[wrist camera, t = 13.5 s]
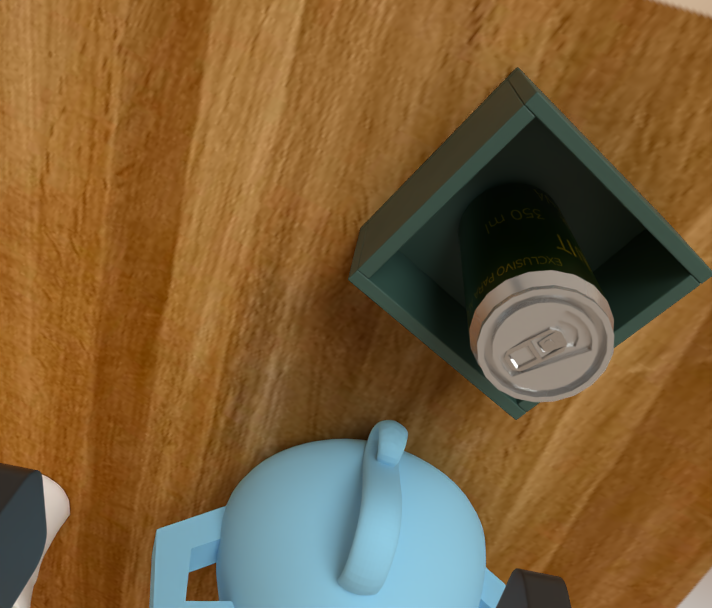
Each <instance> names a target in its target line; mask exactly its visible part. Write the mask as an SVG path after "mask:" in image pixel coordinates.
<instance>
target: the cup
mask: <svg viewBox="0 0 712 608" xmlns="http://www.w3.org/2000/svg"><path fill="white" fill-rule="evenodd" d="M42 478H43V489H44V501H45V513H46V525H47V538H46V543H45V547H44V551H43V554H42V556H41V559H40V561H39V563H38V565H37V567H36V569H35V571H34V573H33V574H32V576H31V578H30V579H29V581H28V582H27V584H26V586H25V587H24V589H23V591H22V592H21V594H20V595H19V597H18V599H17V600H16V602H15V604H14V605H13V607H12V608H30V604H31V596H32V591H33V587H34V584H35V582H36V580H37V577H38V573H39V568H40V565H41V562H42V559H43V557H44V555H45V553H46V551H47V549H48V548H49V546H50V544H51V542H52V541H53V539H54V537H55V535H56V534H57V532H58V531H59V529H60V527H61V526H62V525H63V524H64V522H65V521H66V519H67V518H68V517H69V515H70V506H69V499H68V497H67V495H66V493H65V492H64V490H63V489H62V488H61V487H60V486H59V485H58V484H57V483H56V482H54V481H53V480H51V479H50V478H48V477H47V476H44V475H42Z"/></svg>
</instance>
